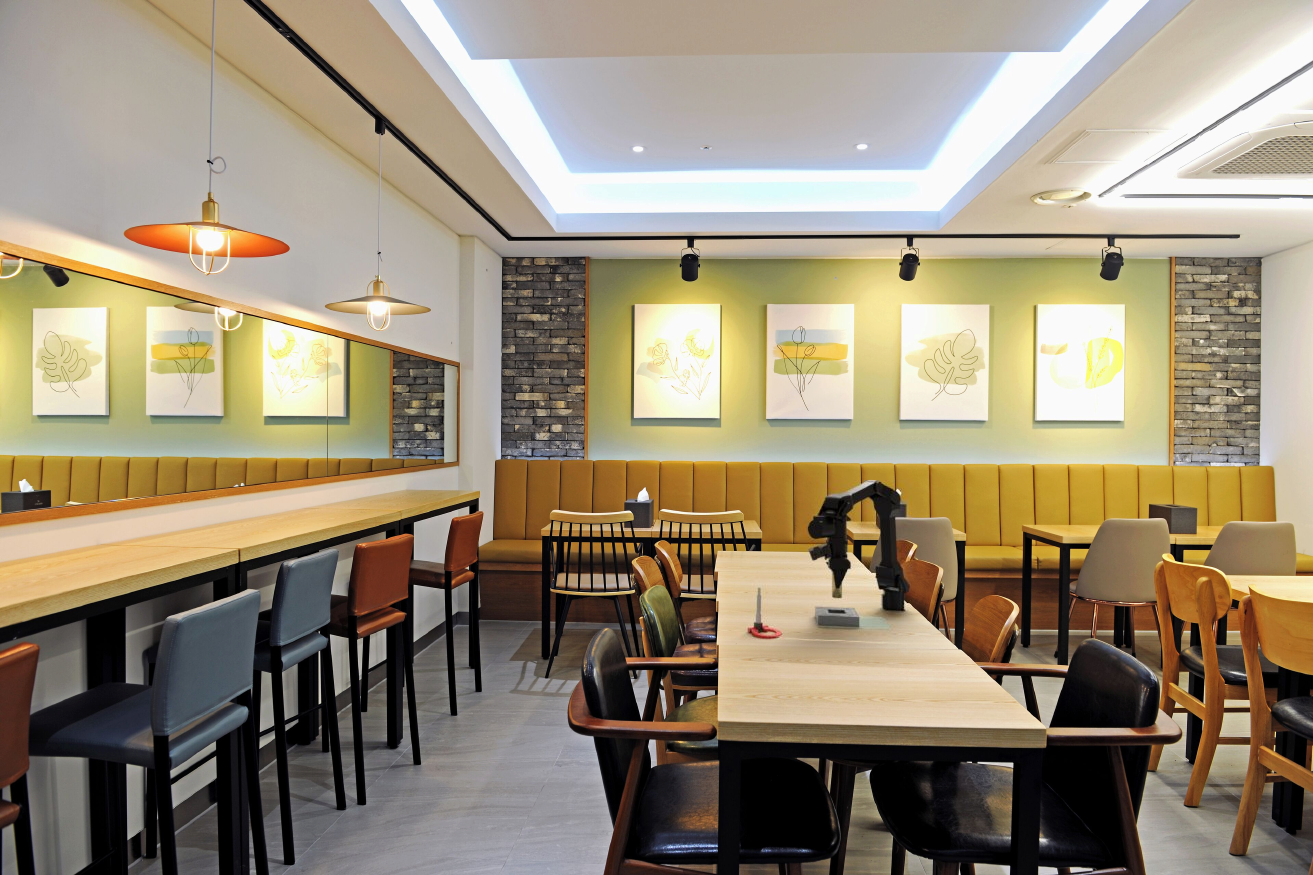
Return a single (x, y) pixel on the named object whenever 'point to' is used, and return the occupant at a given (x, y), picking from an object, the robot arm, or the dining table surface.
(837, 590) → the pin
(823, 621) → the block
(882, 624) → the mat
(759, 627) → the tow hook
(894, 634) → the dining table surface
